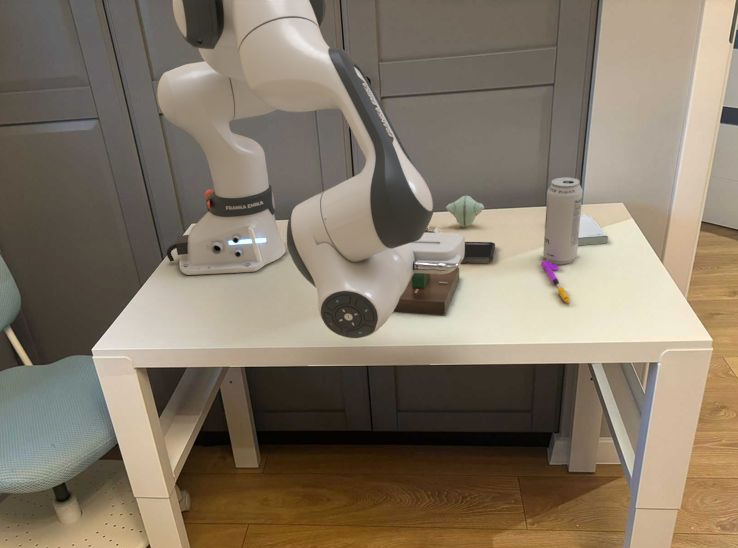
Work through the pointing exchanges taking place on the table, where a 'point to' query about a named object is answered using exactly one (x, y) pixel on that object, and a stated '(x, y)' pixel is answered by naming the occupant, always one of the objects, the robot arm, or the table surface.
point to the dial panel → (429, 295)
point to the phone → (478, 252)
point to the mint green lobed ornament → (465, 210)
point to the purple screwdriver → (548, 268)
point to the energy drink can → (562, 220)
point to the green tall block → (420, 278)
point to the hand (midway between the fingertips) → (404, 231)
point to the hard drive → (590, 231)
